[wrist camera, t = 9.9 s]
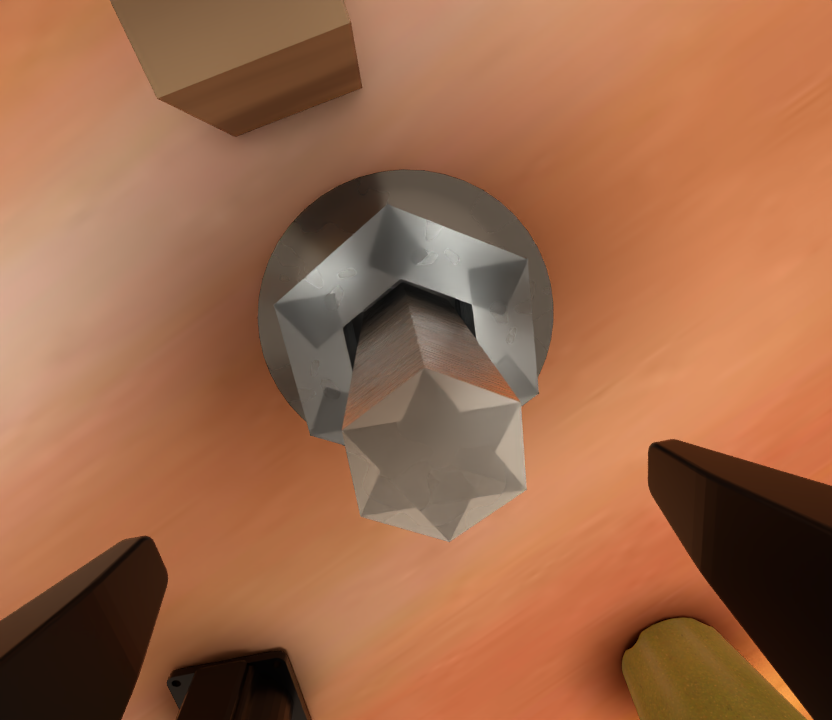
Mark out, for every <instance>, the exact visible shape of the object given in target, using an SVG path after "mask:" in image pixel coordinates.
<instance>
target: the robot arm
mask: <svg viewBox="0 0 832 720" xmlns="http://www.w3.org/2000/svg"><path fill="white" fill-rule="evenodd" d="M648 486H649V490H650V492H651V495H652V496H653V498H654V500H655V501H656V503H657V504H658V506H659V508H660V509H661V511H662V512H663V514H664V516H665V517H666V519H667V520H668V522H669V524H670V525H671V527H672V528H673V530H674V532H675V533H676V535H677V536H678V538H679V540H680V541H681V543H682V544H683V546H684V548H685V549H686V551H687V552H688V554H689V556H690V557H691V559H692V560H693V562H694V563H695V565H696V566H697V568H698V569H699V571H700V572H701V574H702V575H703V576H704V578H705V579H706V580H707V582H708V583H709V584H710V586H711V587H712V588H713V590H714V591H715V592H716V594H717V595H718V596H719V597H720V599H721V600H722V601H723V603H724V604H725V605H726V607H727V608H728V609H729V610H730V612H731V613H732V614H733V616H734V617H735V618H736V620H737V621H738V622H739V623H740V625H741V626H742V627H743V629H744V630H745V631H746V632H747V634H748V635H749V636H750V638H751V639H752V640H753V642H754V643H755V644H756V645H757V647H758V648H759V649H760V651H761V652H762V653H763V655H764V656H765V657H766V658H767V660H768V661H769V662H770V664H771V665H772V666H773V668H774V669H775V670H776V671H777V673H778V674H779V675H780V677H781V678H782V679H783V680H784V682H785V683H786V684H787V686H788V687H789V688H790V690H791V691H792V692H793V693H794V695H795V696H796V697H797V699H798V700H799V701H800V703H801V704H802V705H803V706H804V708H805V709H806V710H807V712H808V713H809V714H810V716H811V717H812V718H813V719H814V720H832V486H830V485H827V484H824V483H820V482H817V481H813V480H810V479H807V478H803V477H800V476H797V475H793V474H790V473H787V472H783V471H780V470H777V469H773V468H770V467H766V466H763V465H760V464H756V463H753V462H750V461H746V460H743V459H740V458H736V457H733V456H730V455H726V454H723V453H719V452H716V451H713V450H709V449H706V448H703V447H699V446H696V445H693V444H689V443H686V442H683V441H679V440H675V439H670V440H665V441H660V442H654V443H652V444H651V445H650V446H649V450H648ZM167 583H168V574H167V570H166V567H165V565H164V563H163V561H162V558H161V556H160V554H159V552H158V549H157V547H156V545H155V543H154V541H153V539H152V538H150V537H148V536H140V537H135V538H129V539H125V540H122V541H120V542H119V543H117V544H116V545H114V546H113V547H111V548H110V549H108V550H107V551H105V552H104V553H102V554H101V555H99V556H98V557H96V558H95V559H93V560H92V561H90V562H89V563H87V564H86V565H84V566H83V567H81V568H80V569H78V570H77V571H75V572H74V573H72V574H70V575H69V576H67V577H66V578H64V579H63V580H61V581H60V582H58V583H57V584H55V585H54V586H52V587H51V588H49V589H48V590H46V591H45V592H43V593H42V594H40V595H39V596H37V597H36V598H34V599H33V600H31V601H30V602H28V603H27V604H25V605H24V606H22V607H21V608H19V609H18V610H16V611H15V612H13V613H12V614H10V615H9V616H7V617H6V618H4V619H2V620H1V621H0V720H121V719H122V717H123V714H124V712H125V709H126V707H127V704H128V702H129V699H130V697H131V695H132V692H133V689H134V687H135V684H136V682H137V679H138V676H139V673H140V670H141V668H142V665H143V662H144V659H145V655H146V652H147V649H148V646H149V643H150V639H151V636H152V633H153V630H154V626H155V623H156V620H157V617H158V614H159V610H160V607H161V604H162V601H163V598H164V594H165V591H166V588H167ZM167 686H168V688H169V690H170V692H171V694H172V696H173V698H174V700H175V702H176V704H177V706H178V708H179V713H178V715H177V718H176V720H311V719H310V716H309V713H308V710H307V708H306V705H305V702H304V700H303V697H302V694H301V691H300V689H299V686H298V683H297V680H296V678H295V675H294V672H293V670H292V667H291V664H290V661H289V659H288V656H287V654H286V653H284V652H282V651H274V652H268V653H263V654H258V655H252V656H247V657H242V658H236V659H231V660H226V661H221V662H215V663H210V664H205V665H199V666H194V667H189V668H184V669H178V670H175V671H173V672H171V674H170V676H169V678H168V680H167Z"/></svg>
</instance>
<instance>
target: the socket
mask: <svg viewBox="0 0 832 720" xmlns="http://www.w3.org/2000/svg"><path fill="white" fill-rule="evenodd" d="M401 282H404V283H407V284H409V285H412V286H414V287H417V288H420V289H422V290H425V291H427V292H430V293H432V294H435V295H437V296H440V297H442V298H445V299H447V300H448V301H449V302H450V303H451V305H452V306H453V308H454V309H455V310H456V312H457V313H458V315H459V316H460V317H461V319H462V320H463V322H464V323H465V324H466V326H467V327H468V329H469V330H470V332H471V333H472V334H473V336H474V337H475V339H476V340H477V341H478V343H479V344H480V346H481V347H482V348H483V350H484V351H485V353H486V354H487V355H488V357H489V358H490V360H491V361H492V362H493V364H494V365H495V367H496V368H497V370H498V371H499V372H500V374H501V375H502V377H503V378H504V379H505V381H506V382H507V384H508V385H509V386H510V388H511V389H512V391H513V392H514V393H515V395H516V396H517V398H518V399H519V400H520V402H521V406H523V405H524V404H525V403H527V402H528V401H529V400H531V399H532V398H533V397H535V396H536V395H537V394H539V390H538V378H537V377H538V376H539V374H540V371H541V369H542V366H543V364H544V362H545V359H546V356H547V352H548V349H549V345H550V341H551V335H552V327H553V298H552V290H551V284H550V280H549V276H548V273H547V269H546V266H545V263H544V261H543V259H542V256H541V254H540V252H539V249H538V247H537V246H536V244H535V242H534V241H533V239H532V237H531V236H530V234H529V232H528V231H527V230H526V228H525V227H524V226H523V225H522V224H521V222H520V221H519V220H518V219H517V217H516V216H515V215H514V214H513V213H512V212H511V211H509V210H508V209H507V208H506V207H505V206H504V205H503V204H502V203H501V202H500V201H498V200H497V199H495V198H494V197H492V196H491V195H489V194H488V193H487V192H485V191H484V190H482V189H480V188H478V187H476V186H474V185H472V184H470V183H468V182H466V181H463V180H460V179H457V178H454V177H451V176H448V175H445V174H440V173H435V172H429V171H424V170H394V171H385V172H378V173H374V174H370V175H366V176H363V177H359V178H357V179H354V180H352V181H349V182H347V183H344V184H342V185H340V186H338V187H336V188H334V189H333V190H331V191H329V192H328V193H326V194H324V195H323V196H321V197H320V198H318V199H317V200H316V201H315V202H313V203H312V204H311V205H310V206H308V207H307V208H306V209H305V210H304V211H303V212H302V213H301V214H300V215H299V216H298V217H297V218H296V219H295V220H294V221H293V222H292V223H291V225H290V226H289V227H288V229H287V230H286V232H285V233H284V234H283V236H282V237H281V239H280V240H279V242H278V243H277V245H276V247H275V249H274V251H273V253H272V255H271V257H270V259H269V262H268V264H267V267H266V270H265V273H264V276H263V279H262V284H261V289H260V295H259V303H258V327H259V338H260V342H261V346H262V351H263V355H264V358H265V361H266V363H267V366H268V369H269V371H270V374H271V376H272V378H273V379H274V381H275V383H276V385H277V387H278V389H279V390H280V392H281V393H282V395H283V396H284V397H285V399H286V400H287V402H288V403H289V404H290V406H291V407H292V408H293V409H294V410H295V411H296V412H297V413H298V414H299V415H300V416H301V417H302V418H303V419H304V420H305V421H306V422H307V425H308V429H309V432H310V436H314V437H318V438H321V439H325V440H328V441H332V442H335V443H339V444H342V445H344V446H345V444H344V439H343V434H342V426H343V421H344V416H345V410H346V405H347V400H348V394H349V389H350V384H351V379H352V373H353V368H354V363H355V357H356V352H357V347H358V342H359V336H360V331H361V326H362V320H363V315H364V312H365V311H366V310H368V309H369V308H370V307H371V306H373V305H374V304H375V303H376V302H378V301H379V300H380V299H381V298H383V297H384V296H385V295H386V294H388V293H389V292H390V291H391V290H393V289H394V288H395V287H396V286H398V285H399V284H400V283H401Z"/></svg>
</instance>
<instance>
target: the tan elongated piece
mask: <svg viewBox="0 0 832 720" xmlns="http://www.w3.org/2000/svg"><path fill="white" fill-rule="evenodd" d="M342 434H343V439H344V444H345V448H346V453H347V457H348V462H349V466H350V471H351V475H352V480H353V485H354V489H355V494H356V498H357V503H358V507H359V512H360V517H364V518H367V519H371V520H374V521H378V522H381V523H385V524H388V525H392V526H395V527H399V528H402V529H406V530H409V531H413V532H416V533H420V534H423V535H427V536H430V537H434V538H437V539H441V540H444V541H448V542H450V541H452V540H453V539H455V538H456V537H457V536H459V535H460V534H462V533H463V532H465V531H466V530H468V529H469V528H471V527H472V526H474V525H475V524H477V523H478V522H480V521H481V520H483V519H484V518H486V517H487V516H489V515H490V514H491V513H493V512H494V511H496V510H497V509H499V508H500V507H502V506H503V505H505V504H506V503H508V502H509V501H511V500H512V499H514V498H515V497H517V496H518V495H520V494H521V493H523V492H524V491H525V490H527V487H526V472H525V458H524V443H523V428H522V413H521V402H520V400H519V399H518V398H517V396H516V395H515V393H514V392H513V391H512V389H511V388H510V386H509V385H508V384H507V382H506V381H505V379H504V378H503V377H502V375H501V374H500V372H499V371H498V370H497V368H496V367H495V365H494V364H493V362H492V361H491V360H490V358H489V357H488V355H487V354H486V353H485V351H484V350H483V348H482V347H481V346H480V344H479V343H478V341H477V340H476V339H475V337H474V336H473V334H472V333H471V332H470V330H469V329H468V327H467V326H466V324H465V323H464V322H463V320H462V319H461V317H460V316H459V315H458V313H457V312H456V310H455V309H454V308H453V306H452V305H451V303H450V302H449V301H448V300H447V299H445V298H442V297H440V296H437V295H435V294H432V293H430V292H427V291H425V290H422V289H420V288H417V287H414V286H412V285H409V284H407V283H404V282H401V283H400V284H399V285H398V286H396V287H395V288H394V289H393V290H391V291H390V292H389V293H388V294H386V295H385V296H384V297H383V298H381V299H380V300H379V301H378V302H376V303H375V304H374V305H373V306H371V307H370V308H369V309H368V310H366V311H365V312H364V315H363V320H362V326H361V331H360V336H359V342H358V347H357V352H356V357H355V363H354V368H353V373H352V379H351V384H350V389H349V394H348V400H347V405H346V410H345V416H344V421H343V426H342Z"/></svg>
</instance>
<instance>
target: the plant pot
mask: <svg viewBox="0 0 832 720" xmlns="http://www.w3.org/2000/svg"><path fill="white" fill-rule="evenodd" d="M622 672H623V675H624V678H625V681H626V683H627V686H628V689H629V691H630V694H631V697H632V700H633V702H634V705H635V707H636V710H637V713H638V715H639V718H640V720H807V719H806V718H805V717H804V716H803V715H802V714H801V713H800V712H799V711H798V710H797V709H795V708H794V707H793V706H792V705H791V704H790V703H789V702H788V701H787V700H786V699H785V698H784V697H783V696H782V695H781V694H780V693H779V692H778V691H777V690H776V689H775V688H774V687H773V686H772V685H771V684H770V683H769V682H768V681H767V680H766V679H765V678H764V677H763V676H762V675H761V674H760V673H759V672H758V671H757V670H756V669H755V668H754V667H753V666H752V665H751V664H750V663H749V662H748V661H747V660H746V659H745V658H744V657H743V656H742V655H741V654H740V653H739V652H738V651H737V650H736V649H735V648H734V647H733V646H732V645H731V644H730V643H729V642H728V641H727V640H726V639H724V638H723V637H722V636H721V635H720V634H719V633H718V632H717V631H716V630H715V629H714V628H713V627H712V626H708V625H706V624H703V623H701V622H699V621H697V620H695V619H692V618H684V617H683V618H673V619H668V620H665V621H662V622H659V623H656V624H654V625H652V626H650V627H648V628H647V629H645V630H644V631H642V632H641V634H640V636H639V638H638V640H637V642H636V644H635V645H634V646H633V647H632V648H630V649H628V650H626V651H625V653H624V656H623V659H622Z"/></svg>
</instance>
